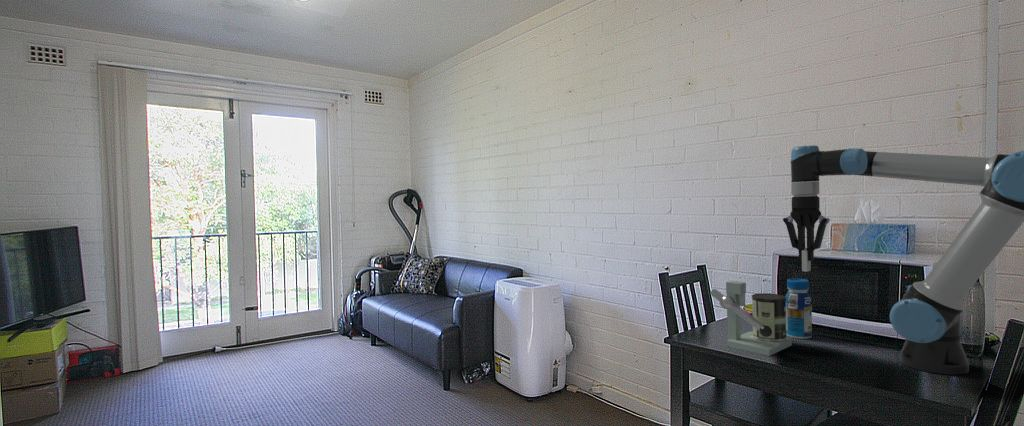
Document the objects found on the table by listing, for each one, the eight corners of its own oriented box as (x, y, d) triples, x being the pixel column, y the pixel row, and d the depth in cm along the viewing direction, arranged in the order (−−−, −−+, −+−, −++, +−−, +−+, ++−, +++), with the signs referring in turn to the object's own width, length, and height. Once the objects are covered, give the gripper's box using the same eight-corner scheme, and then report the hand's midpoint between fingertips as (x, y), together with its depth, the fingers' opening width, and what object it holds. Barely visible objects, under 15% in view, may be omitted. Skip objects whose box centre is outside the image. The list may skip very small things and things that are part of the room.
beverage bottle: (780, 332, 180) (779, 278, 179) (805, 332, 179) (804, 277, 178) (791, 339, 171) (790, 282, 171) (817, 339, 170) (816, 281, 170)
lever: (770, 338, 156) (776, 328, 155) (764, 340, 154) (771, 331, 153) (712, 295, 171) (717, 286, 170) (707, 296, 169) (712, 287, 168)
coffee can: (781, 333, 171) (780, 293, 171) (791, 342, 161) (790, 299, 161) (749, 332, 174) (748, 292, 173) (756, 341, 163) (756, 299, 163)
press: (793, 344, 166) (792, 281, 165) (769, 356, 155) (767, 288, 155) (749, 335, 178) (748, 276, 177) (723, 345, 167) (722, 283, 166)
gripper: (833, 195, 151) (834, 271, 152) (788, 195, 162) (789, 267, 163) (823, 195, 147) (824, 274, 148) (778, 196, 157) (779, 270, 158)
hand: (806, 270), depth 155 cm, fingers closed
